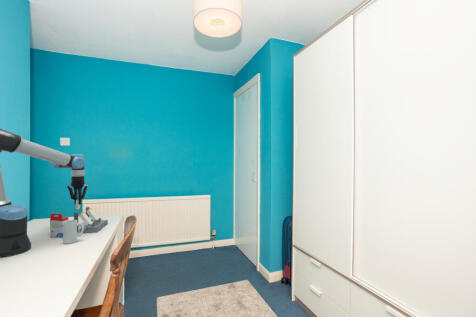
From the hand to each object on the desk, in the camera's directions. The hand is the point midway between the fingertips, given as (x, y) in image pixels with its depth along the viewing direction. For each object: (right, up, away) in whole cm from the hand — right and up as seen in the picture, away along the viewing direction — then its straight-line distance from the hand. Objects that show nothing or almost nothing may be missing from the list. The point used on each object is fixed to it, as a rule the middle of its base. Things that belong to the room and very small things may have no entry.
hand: (77, 209), depth 160 cm
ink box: (+2, -13, -19) cm, 23 cm away
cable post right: (0, -13, +13) cm, 18 cm away
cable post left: (+5, -13, -11) cm, 17 cm away
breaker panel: (+14, -13, -2) cm, 19 cm away
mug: (+17, -13, -28) cm, 36 cm away
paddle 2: (+12, -10, +3) cm, 16 cm away
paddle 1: (+15, -10, -8) cm, 20 cm away
